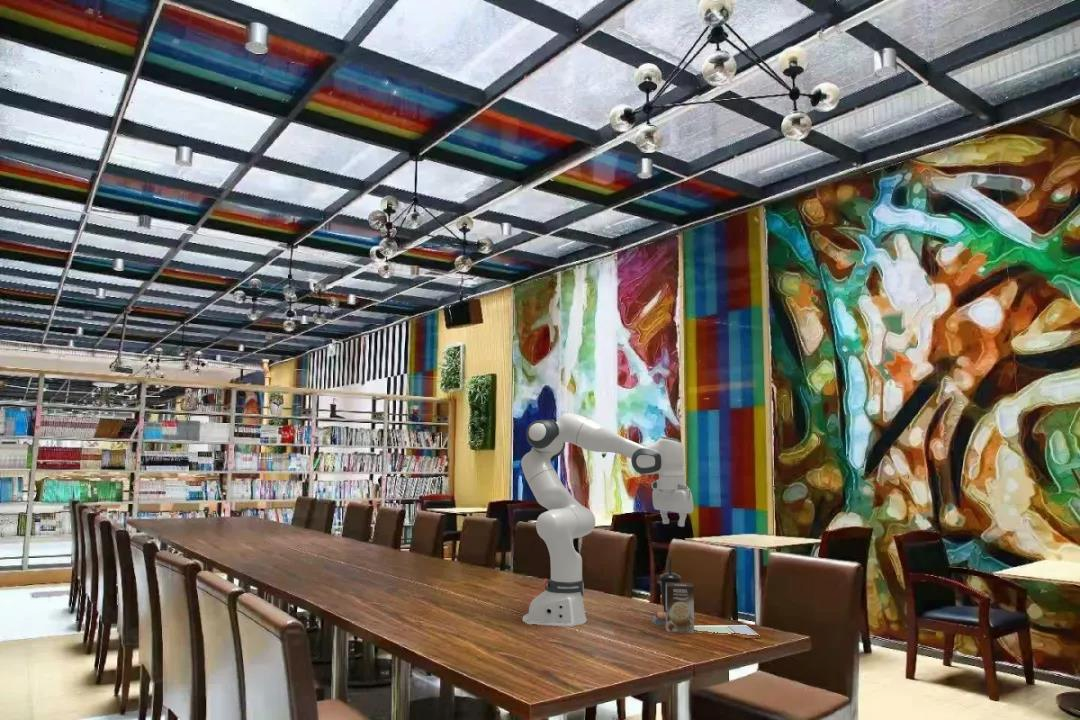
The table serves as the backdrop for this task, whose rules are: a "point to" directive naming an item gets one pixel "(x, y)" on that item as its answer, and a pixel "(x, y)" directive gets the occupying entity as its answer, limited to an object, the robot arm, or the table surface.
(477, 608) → the table surface
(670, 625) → the coffee box
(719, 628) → the picture board
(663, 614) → the button
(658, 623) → the button housing
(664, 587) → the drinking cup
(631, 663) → the table surface
